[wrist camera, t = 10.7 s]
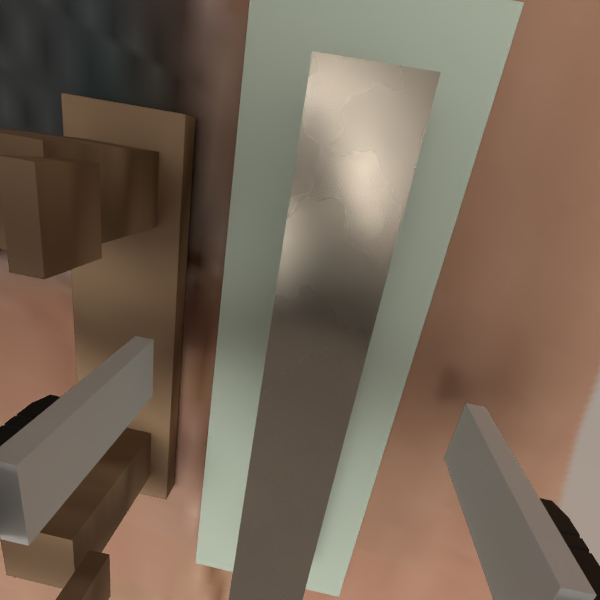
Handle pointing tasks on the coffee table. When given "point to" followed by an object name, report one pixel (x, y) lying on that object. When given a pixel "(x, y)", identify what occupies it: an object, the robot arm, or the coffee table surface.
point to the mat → (272, 221)
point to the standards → (105, 300)
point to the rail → (326, 305)
